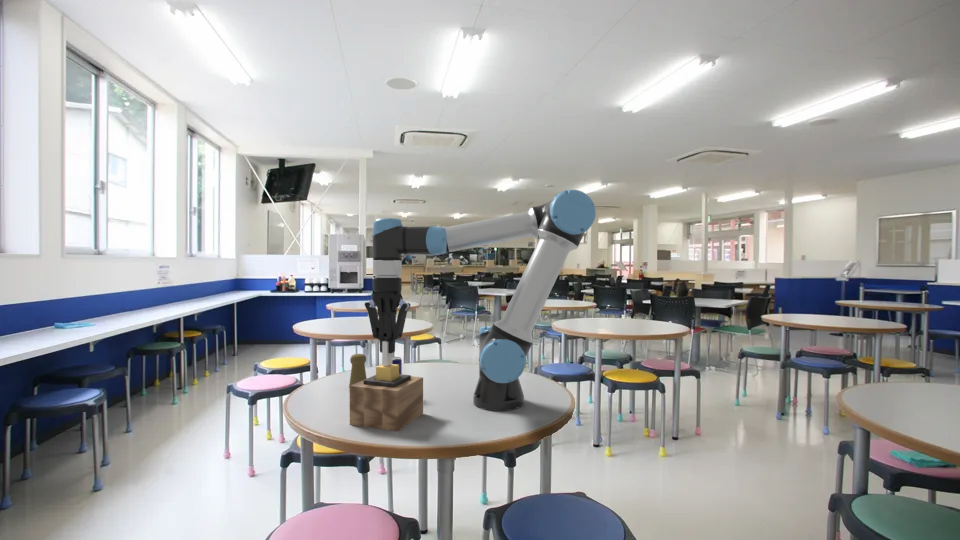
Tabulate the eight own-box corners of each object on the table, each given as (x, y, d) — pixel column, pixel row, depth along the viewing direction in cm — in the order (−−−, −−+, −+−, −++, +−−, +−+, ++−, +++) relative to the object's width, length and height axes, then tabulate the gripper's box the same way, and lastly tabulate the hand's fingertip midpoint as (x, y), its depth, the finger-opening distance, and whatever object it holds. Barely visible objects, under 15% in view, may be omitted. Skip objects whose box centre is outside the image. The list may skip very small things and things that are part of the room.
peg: (399, 397, 119) (399, 364, 119) (390, 402, 115) (390, 368, 115) (385, 396, 121) (384, 363, 121) (376, 400, 117) (375, 366, 117)
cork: (348, 385, 151) (348, 353, 151) (367, 383, 153) (366, 352, 153) (349, 389, 146) (349, 356, 145) (368, 388, 147) (367, 355, 147)
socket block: (423, 413, 122) (423, 373, 122) (397, 431, 109) (397, 387, 109) (379, 408, 127) (379, 369, 127) (349, 424, 114) (349, 382, 114)
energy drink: (397, 399, 135) (397, 360, 135) (381, 398, 136) (381, 359, 136) (404, 394, 140) (404, 357, 140) (388, 393, 141) (388, 356, 141)
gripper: (415, 276, 119) (415, 363, 119) (374, 276, 123) (374, 360, 124) (401, 277, 112) (401, 370, 112) (358, 276, 116) (358, 366, 117)
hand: (387, 364), depth 118 cm, fingers closed
